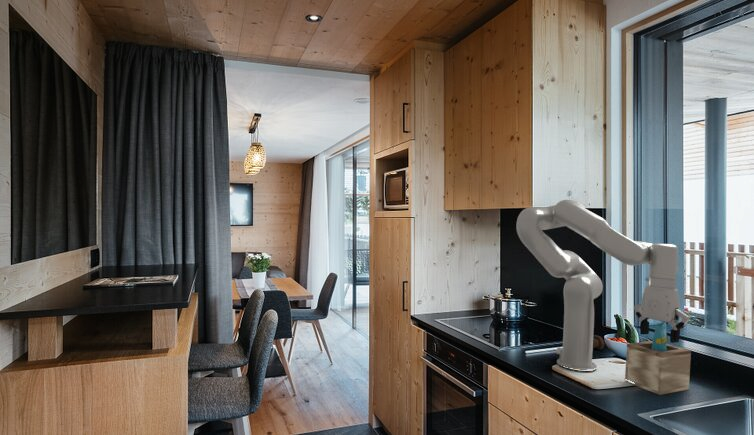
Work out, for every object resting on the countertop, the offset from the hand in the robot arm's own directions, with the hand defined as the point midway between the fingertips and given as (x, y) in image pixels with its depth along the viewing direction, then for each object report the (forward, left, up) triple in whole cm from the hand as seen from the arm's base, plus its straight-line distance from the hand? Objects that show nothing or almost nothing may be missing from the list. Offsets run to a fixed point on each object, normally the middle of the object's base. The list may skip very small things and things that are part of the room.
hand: (659, 338), depth 149 cm
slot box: (0, 0, -15) cm, 15 cm away
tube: (0, 0, -14) cm, 14 cm away
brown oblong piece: (-36, +10, -15) cm, 40 cm away
